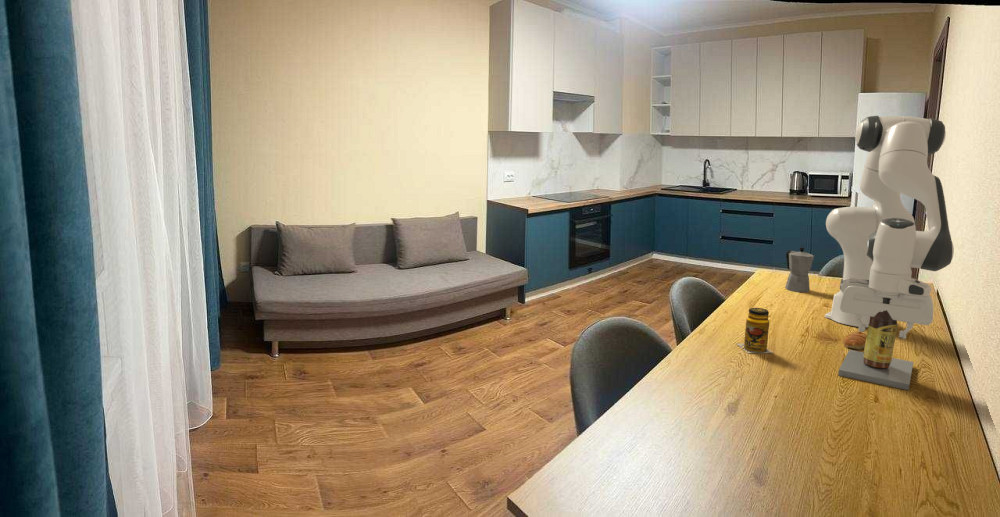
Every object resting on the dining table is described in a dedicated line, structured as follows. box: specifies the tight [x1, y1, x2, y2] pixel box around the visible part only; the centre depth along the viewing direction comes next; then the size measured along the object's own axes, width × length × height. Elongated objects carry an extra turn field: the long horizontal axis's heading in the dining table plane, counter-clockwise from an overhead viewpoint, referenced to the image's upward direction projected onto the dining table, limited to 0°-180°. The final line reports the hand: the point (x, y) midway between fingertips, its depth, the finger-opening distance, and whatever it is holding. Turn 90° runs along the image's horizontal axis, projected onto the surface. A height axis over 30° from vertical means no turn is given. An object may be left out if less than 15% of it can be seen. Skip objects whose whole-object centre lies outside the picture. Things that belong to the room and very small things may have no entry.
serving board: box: [837, 349, 914, 391], centre depth 155 cm, size 20×15×2 cm
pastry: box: [842, 331, 867, 351], centre depth 175 cm, size 9×7×4 cm
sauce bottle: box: [863, 297, 899, 369], centre depth 153 cm, size 6×6×20 cm
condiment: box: [735, 307, 774, 354], centre depth 170 cm, size 7×8×12 cm
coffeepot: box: [784, 246, 815, 293], centre depth 246 cm, size 15×9×18 cm, turn 12°
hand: (881, 334), depth 153 cm, fingers open, 8 cm apart
